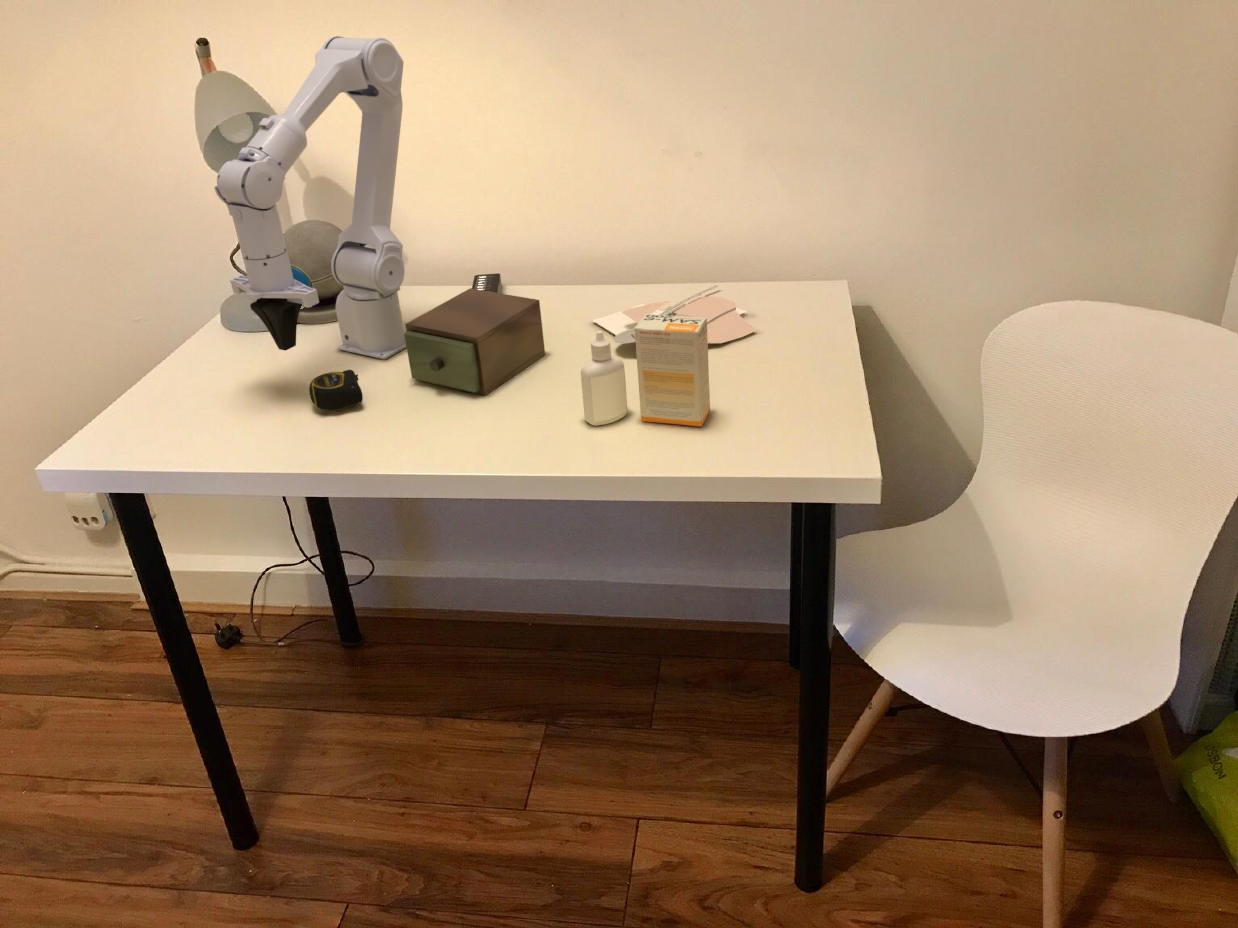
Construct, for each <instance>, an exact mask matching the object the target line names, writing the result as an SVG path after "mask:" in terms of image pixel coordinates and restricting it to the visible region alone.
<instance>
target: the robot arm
mask: <svg viewBox="0 0 1238 928" xmlns="http://www.w3.org/2000/svg"><path fill="white" fill-rule="evenodd" d="M314 56H315V57H314V63H315V64H314V66H313V68H312V69H311V71H310V72H309V74H308V75H307V77H306V79H305V80H304V82H303V83H302V85H301V86H300V88H299V89H298V91H297V92H296V94H295V96H294V98H293V99H292V100H291V102H290V104H289V105H288V106H287V108H285V109H286V110H285V111H284V113H283V114H272V115H269V117H264V118H262V120H261V121H259V123H258V126H259V127H260V128H259V129H258V130H257V132H256V133H255V134H254V136H253V137H252V138H251V139H250V141H249V142H248V143H247V145H246V146H245V147H242V148H241V149H240V151H238V154H239V155H238V156H237V159H232V160H227V161H226V162H224V164H223V165H222V166H221V167H220V169H219V170H218V173H217V176H216V185H215V186H214V191H215V192H214V193H215V194H216V196H217V197H218V198H219V199H220V201H221V202H223V204H225V205H226V207H227V209H228V213H229V216H231V217H232V221H233V225H234V228H235V232H236V237H237V240H238V245H239V249H240V252H241V257H242V260H243V265H244V268H245V272H246V275H243V274H242V275H238V276H236V277H233V278H232V279H229V282H230V285H231V288H232V289H231V290H232V293H233V294H237V295H239V294H242V293H244V294H245V297H246V299H249V300H254V301H253V302H251V303H250V304H249V307H250V310H251V311H252V312H253V313H254V314H255V315H256V316H257V317H258V318H259V319H260V320H261V321H262V323H263V324H264V325H265V327H266V329H267V331H268V332H269V334H270V336H271V338H272V339H273V341H274V344H275V345H276V346H277V348H278V350H280V351H288V350H290V349H292V348H294V347H296V346H297V328H298V327H297V326H298V322H297V320H298V315H299V312H300V308H301V306H302V304H303V306H304V307H308V308H309V307H311V306H313V305H315V304H317V303H319V299H318V294H317V290H316V289H313V288H310V287H308V286H306V285H304V284H302V283H301V282H299V281H297V280H295V279H293V274H292V270H291V266H290V261H289V257H288V252H287V248H286V244H285V240H284V235H283V233H284V231H283V227H282V223H281V222H282V221H281V219H280V218H281V217H280V214H279V209H278V206H277V202H279V201H281V198H282V195H283V189H284V185H283V183H284V181H285V180H286V175H287V174H288V172H289V171H290V169H291V168H292V167H293V165H294V164H295V163H296V162H297V160H298V159H299V157H300V156H301V155H302V153H303V152H304V151H305V150H306V148H307V146H308V138H307V133H306V132H308V130H309V129H310V128H311V127H312V125H313V124H314V123H315V122H316V121H317V120H318V119H319V118H320V116H321V115H322V114H323V113H324V112H325V111H326V110H327V108H328V107H329V106H330V105H331V104H332V103H333V102H334V101H335V100H336V98H338V96H339V95H340V94H342V93H344V94H345V95H346V96H347V97H349V98H351V100H352V101H354V103H355V104H356V106H357V108H359V110H360V111H361V123H360V134H359V144H358V154H357V166H356V174H355V175H356V176H355V184H354V196H353V206H352V207H353V208H352V215H351V216H352V217H351V223H350V224H349V225H348V226H347V227H346V228H345V229H344V230H342V231H343V232H342V233H341V234H340V235H339V240H338V246H337V249H336V251H335V253H334V254H333V257H332V261H331V270H332V274H333V276H334V278H335V280H336V281H337V282H338V283H340V284H341V285H343V287H344V290H342V291H341V292H340V294H339V295H338V297H337V301H336V314H337V319H338V320H337V323H338V327H339V328H338V329H339V332H340V337H341V342H342V344H341V345H339V350H341V351H344V352H349V353H353V354H358V355H362V356H367V357H372V358H375V359H381V360H386V359H389V358H390V357H392V356H393V355H395V354H397V353H398V352H401V351H402V350H403V349H405V348H407V347H406V342H405V337H404V334H405V333H406V332H405V331H406V330H405V326H404V325H405V324H404V320H403V314H402V308H401V304H400V299H399V291H401V286H402V284H403V281H404V279H405V272H406V271H405V269H406V268H405V264H404V263H405V262H404V260H403V248H404V247H403V243H402V242H401V240H400V239H399V238H398V237H397V236H396V235H395V234H394V232H393V231H392V229H391V223H392V214H393V213H392V212H393V205H394V204H393V203H394V193H395V184H396V175H397V165H398V155H399V147H400V136H401V126H402V117H403V104H404V103H403V96H402V84H403V83H402V82H403V72H404V60H403V58H402V57H401V55H400V53H399V52H398V50H397V49H396V47H395V45H394V44H393V43H392V42H391V41H390V40H389V39H387V38H384V37H375V38H366V37H365V38H364V37H363V38H361V37H344V36H339V35H335V36H330V37H329V38H328V39H327V40H325V42H324V43H323V45H322V48H320V49H319V50H318V51H317V52H316V53H315V55H314ZM367 245H368V246H371V247H373V248H371V247H366V246H367Z"/></svg>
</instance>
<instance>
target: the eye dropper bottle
mask: <svg viewBox="0 0 1238 928" xmlns="http://www.w3.org/2000/svg"><path fill="white" fill-rule="evenodd" d="M590 350H591V359H589V360H588V361H587V362H586V363H585V364H584V365H583V366H582V367H581V370H580V381H581V382H580V383H581V393H582V404H583V405H582V406H583V415H584V420H585V421H586V422H587V423H589V424H590V425H591V426H594V427H595V426H604V425H608V424H611V423H614V422H617V421H619V420H620V419H622V418H624V417H625V416H626V415H627V414H628V397H627V386H626V385H627V384H626V383H627V381H626V371H625V363H624V361H623V360H622V359H621V358H620V357H618V356H616V355H612V348H611V341H610V340H609V339H607V338H605V335H604V332H603V331H602V330H598V331H597V332H596V336H595V339H594V340H592V341H591V342H590Z"/></svg>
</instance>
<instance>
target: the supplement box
mask: <svg viewBox="0 0 1238 928" xmlns="http://www.w3.org/2000/svg"><path fill="white" fill-rule="evenodd" d="M634 330H635V341H636V342H635V353H636V355H635V356H636V367H637V381H638V394H639V408H640V417H641V418H640V419H641V422H649V423H660V424H670V425H671V424H672V425H683V426H693V427H702V426H703V424H704V422H705V421H706V419H707V417H708V416H709V413H710V411H711V395H710V392H711V391H710V369H709V343H708V338H707V318H701V317H685V316H667V315H652V314H646V315H645V316H644V317H643V318H642V319H641V320H640V322H639V323H638V324H637V325H636V327H635V328H634Z"/></svg>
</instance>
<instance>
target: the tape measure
mask: <svg viewBox="0 0 1238 928" xmlns="http://www.w3.org/2000/svg"><path fill="white" fill-rule="evenodd" d="M358 376H359V374H356V373H355V371H354V370H353V369H346V370H343V371H330V372H325V373H322V374H320V375H317V376H315V377H314V378H313V379H312V380H311V381H310V384H309V386H308V393H309V397H310V401H311V402H312V404H313V405H314V406H315V407H316V408H317V409H319V410H323V411H340V410H343V409H346V408H350V407H352V406H356V405H358V404H360V403H362V402H363V399H364V396H363V392H362V388H361V387H360V384H359V382H358V381H359V377H358Z"/></svg>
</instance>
